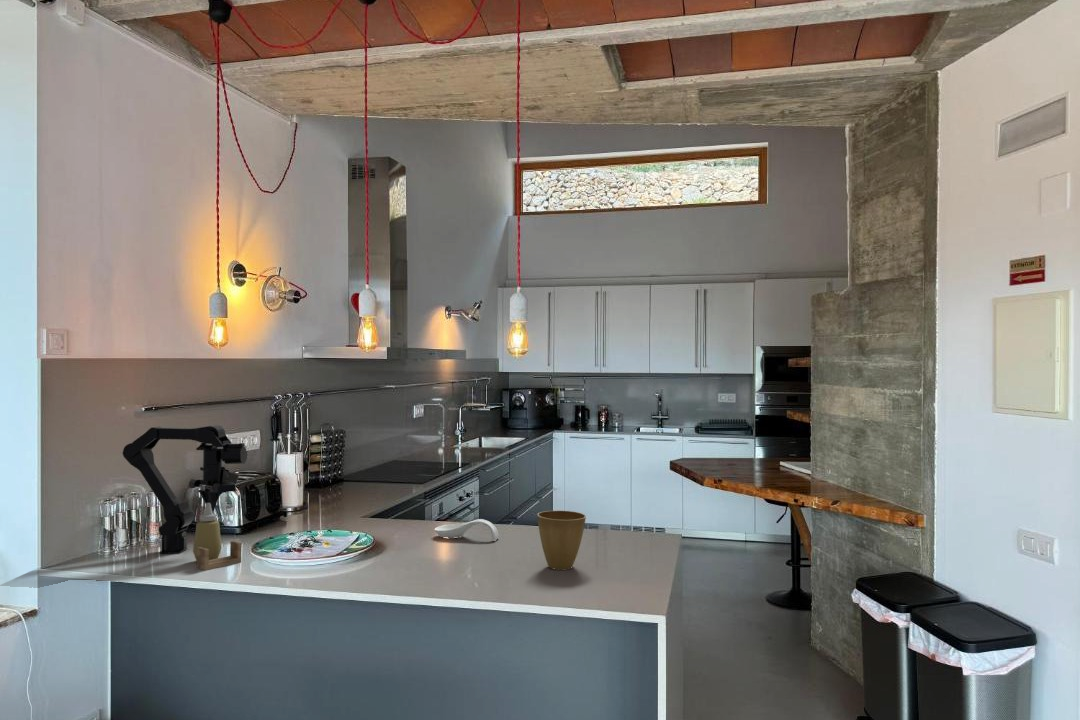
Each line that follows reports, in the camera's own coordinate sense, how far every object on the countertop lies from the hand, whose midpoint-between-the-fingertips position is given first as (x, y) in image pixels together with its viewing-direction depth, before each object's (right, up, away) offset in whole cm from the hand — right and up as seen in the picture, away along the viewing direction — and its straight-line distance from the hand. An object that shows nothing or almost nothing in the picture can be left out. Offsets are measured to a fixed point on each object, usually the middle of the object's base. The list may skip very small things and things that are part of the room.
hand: (211, 511), depth 233 cm
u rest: (+10, -13, -17) cm, 23 cm away
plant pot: (+114, -14, -15) cm, 116 cm away
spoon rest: (+81, -15, +22) cm, 85 cm away
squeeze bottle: (+4, -13, -13) cm, 19 cm away
